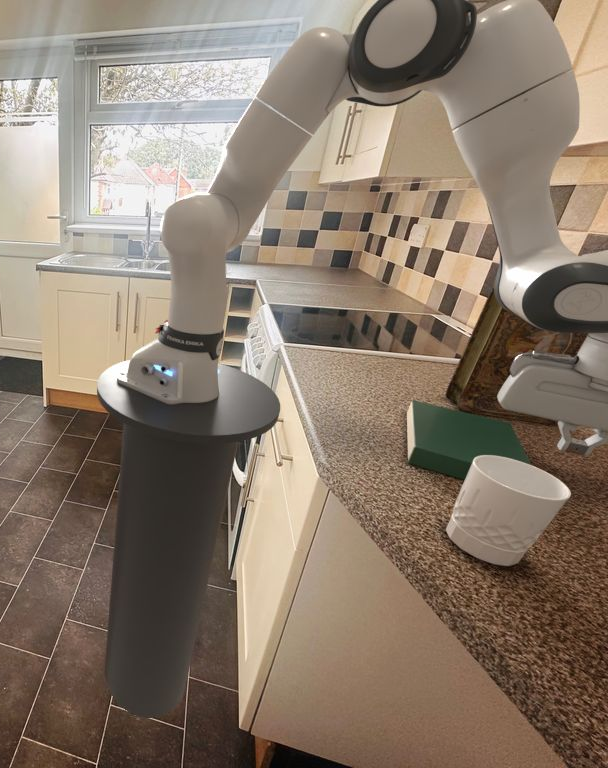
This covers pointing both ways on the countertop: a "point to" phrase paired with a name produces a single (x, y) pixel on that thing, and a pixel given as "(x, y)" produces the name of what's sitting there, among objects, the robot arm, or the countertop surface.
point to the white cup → (504, 508)
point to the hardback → (456, 439)
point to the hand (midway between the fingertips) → (571, 451)
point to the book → (501, 359)
